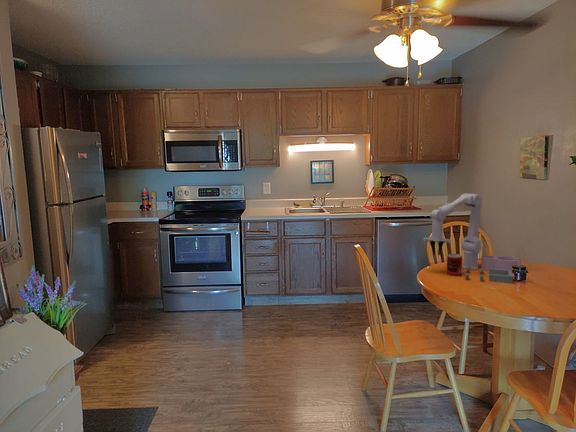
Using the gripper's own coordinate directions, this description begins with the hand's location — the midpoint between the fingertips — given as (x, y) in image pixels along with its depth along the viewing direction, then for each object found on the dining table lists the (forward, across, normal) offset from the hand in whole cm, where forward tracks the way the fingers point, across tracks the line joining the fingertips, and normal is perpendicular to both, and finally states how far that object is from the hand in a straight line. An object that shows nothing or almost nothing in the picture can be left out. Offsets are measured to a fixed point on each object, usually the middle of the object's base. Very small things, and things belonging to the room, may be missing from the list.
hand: (436, 254), depth 227 cm
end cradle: (+10, +32, 0) cm, 33 cm away
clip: (+11, +33, +21) cm, 41 cm away
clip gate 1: (+10, +16, 0) cm, 20 cm away
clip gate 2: (+10, +24, 0) cm, 26 cm away
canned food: (+11, +10, 0) cm, 14 cm away
